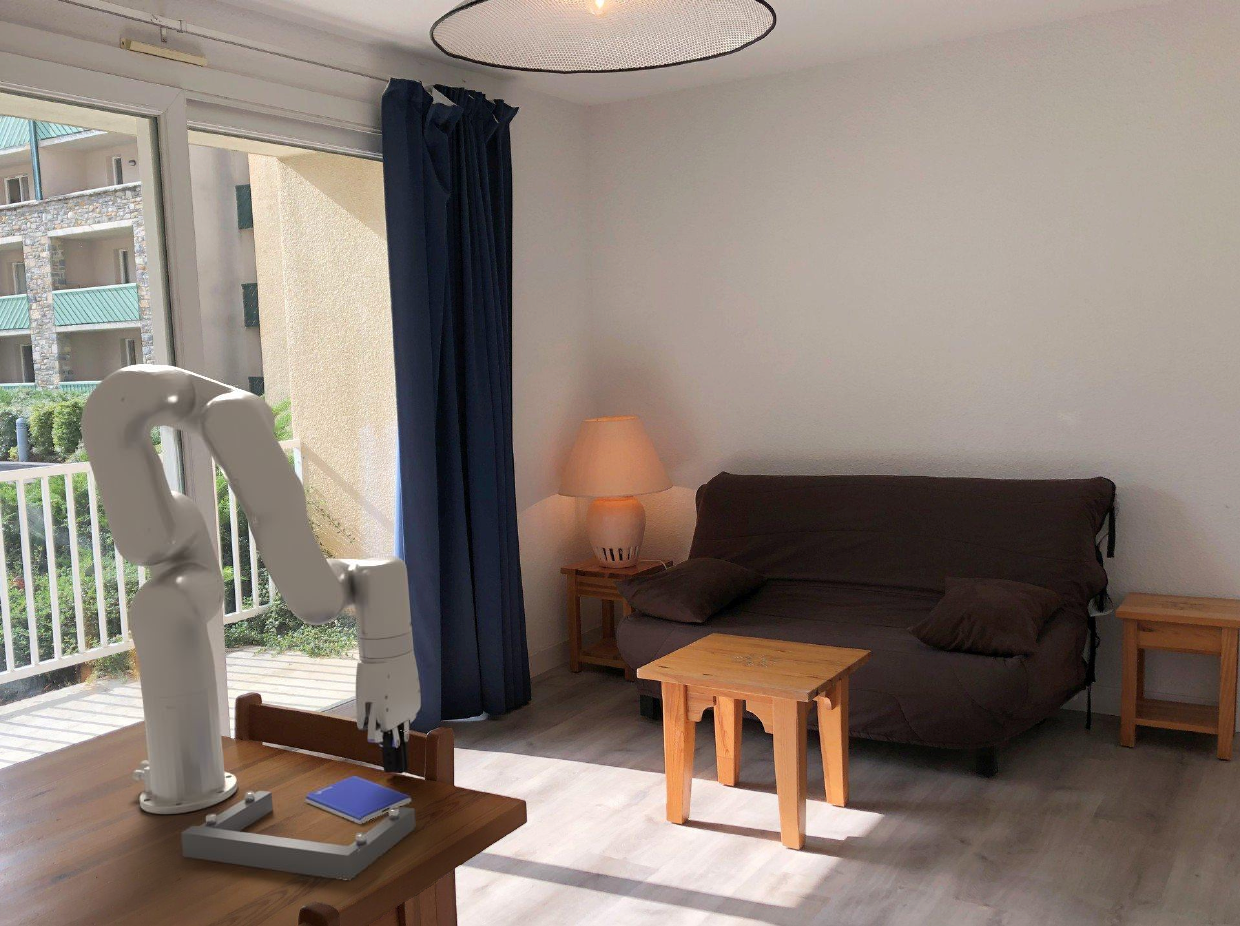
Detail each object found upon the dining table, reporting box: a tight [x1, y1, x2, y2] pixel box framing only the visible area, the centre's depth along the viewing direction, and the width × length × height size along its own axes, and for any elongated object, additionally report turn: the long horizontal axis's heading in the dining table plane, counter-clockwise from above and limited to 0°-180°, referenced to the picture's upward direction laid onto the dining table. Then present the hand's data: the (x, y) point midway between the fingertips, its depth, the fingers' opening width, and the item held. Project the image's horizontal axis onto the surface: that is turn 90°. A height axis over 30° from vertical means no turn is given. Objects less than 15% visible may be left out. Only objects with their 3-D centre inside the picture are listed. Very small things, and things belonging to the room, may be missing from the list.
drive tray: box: [180, 790, 416, 881], centre depth 127 cm, size 24×14×4 cm, turn 70°
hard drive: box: [305, 775, 412, 825], centre depth 139 cm, size 2×8×12 cm
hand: (396, 770), depth 147 cm, fingers closed
